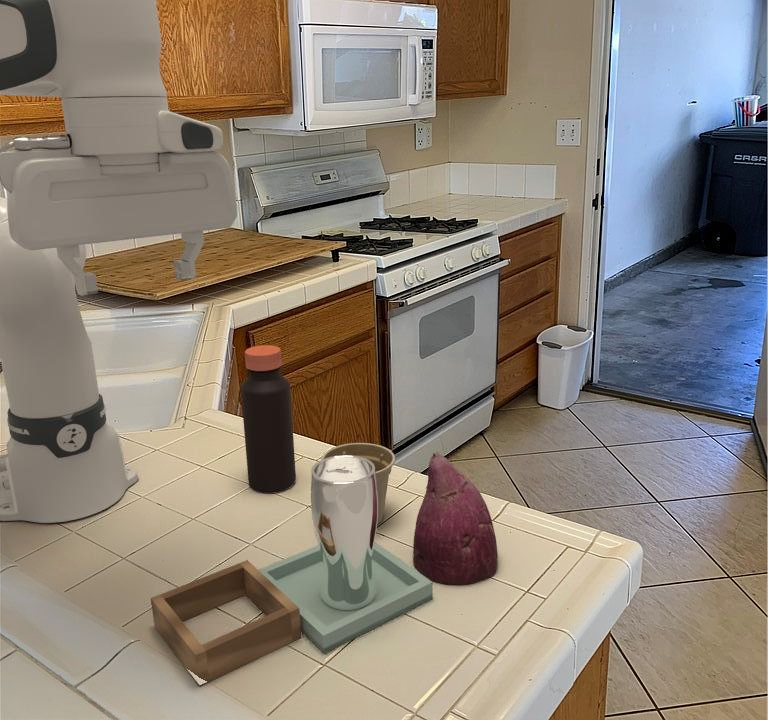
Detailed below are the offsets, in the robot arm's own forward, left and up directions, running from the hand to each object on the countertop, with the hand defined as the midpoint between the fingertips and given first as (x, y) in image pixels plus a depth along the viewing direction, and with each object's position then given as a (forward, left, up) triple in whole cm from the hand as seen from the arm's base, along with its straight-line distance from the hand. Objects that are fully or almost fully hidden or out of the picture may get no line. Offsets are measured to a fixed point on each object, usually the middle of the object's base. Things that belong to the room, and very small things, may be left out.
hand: (138, 286), depth 71 cm
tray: (+10, +15, -35) cm, 39 cm away
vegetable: (+13, +29, -35) cm, 48 cm away
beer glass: (+11, +15, -35) cm, 39 cm away
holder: (+8, +2, -35) cm, 36 cm away
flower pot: (-2, +26, -35) cm, 44 cm away
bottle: (-18, +22, -35) cm, 45 cm away
